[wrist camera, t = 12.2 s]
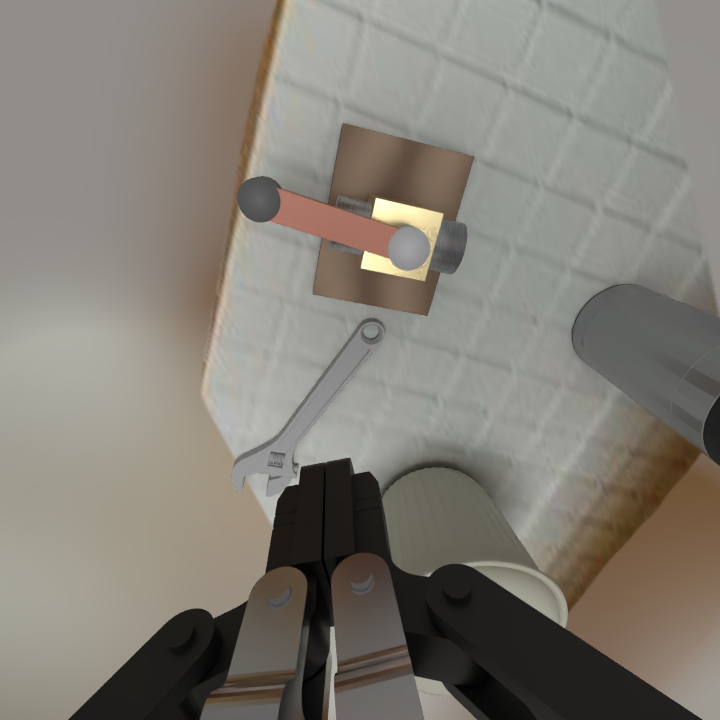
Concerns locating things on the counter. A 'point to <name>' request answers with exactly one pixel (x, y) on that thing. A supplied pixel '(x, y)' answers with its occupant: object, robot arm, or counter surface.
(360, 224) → the valve lever
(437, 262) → the pipe valve
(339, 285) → the mounting board
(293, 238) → the counter surface
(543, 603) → the canister
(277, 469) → the adjustable wrench
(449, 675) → the robot arm
